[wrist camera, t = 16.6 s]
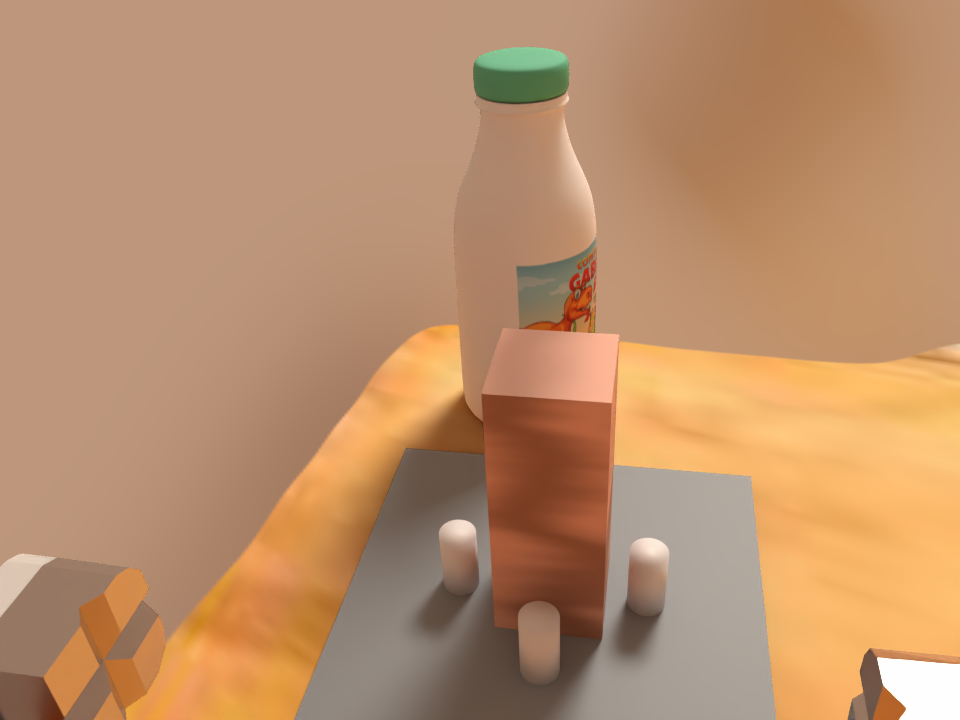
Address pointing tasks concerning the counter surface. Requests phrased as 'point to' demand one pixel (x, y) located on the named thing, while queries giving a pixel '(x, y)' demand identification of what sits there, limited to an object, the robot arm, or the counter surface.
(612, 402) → the terracotta post
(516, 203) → the milk bottle
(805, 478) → the counter surface
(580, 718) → the peg plate
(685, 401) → the counter surface
